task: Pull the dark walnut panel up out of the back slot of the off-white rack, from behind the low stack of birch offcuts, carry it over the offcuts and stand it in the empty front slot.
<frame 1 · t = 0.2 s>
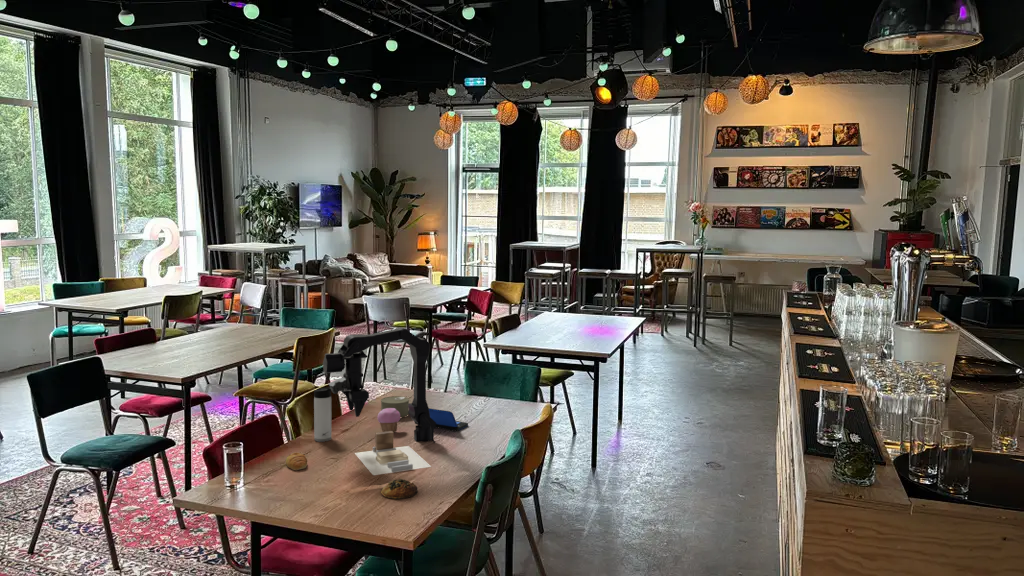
hand: (354, 413, 252), 14 cm above the table, tool pointing down, fingers open, 9 cm apart
rack: (391, 462, 243), on the table
travel mug: (323, 440, 267), on the table
bread roll: (399, 494, 216), on the table
offcut stack: (391, 459, 243), point 1 cm above the table, touching rack
pastry: (297, 466, 238), on the table
can: (394, 415, 302), on the table
handheld game console: (444, 428, 286), on the table
cupcake: (388, 433, 276), on the table
walnut panel: (384, 451, 251), point 1 cm above the table, touching rack
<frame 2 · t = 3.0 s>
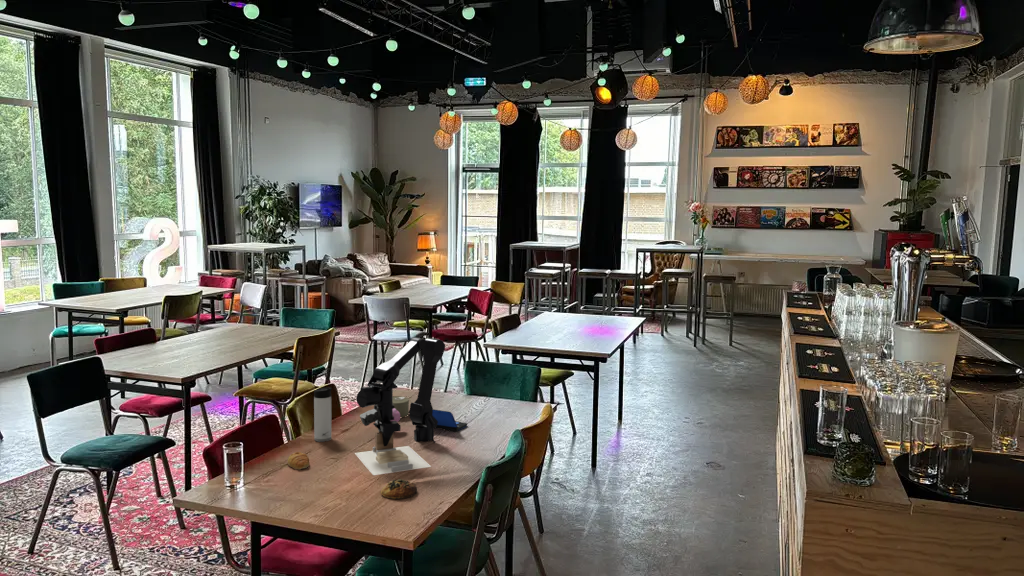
hand: (384, 444, 250), 4 cm above the table, tool pointing down, fingers closed on walnut panel, 2 cm apart
walnut panel: (384, 451, 251), point 1 cm above the table, touching gripper, rack
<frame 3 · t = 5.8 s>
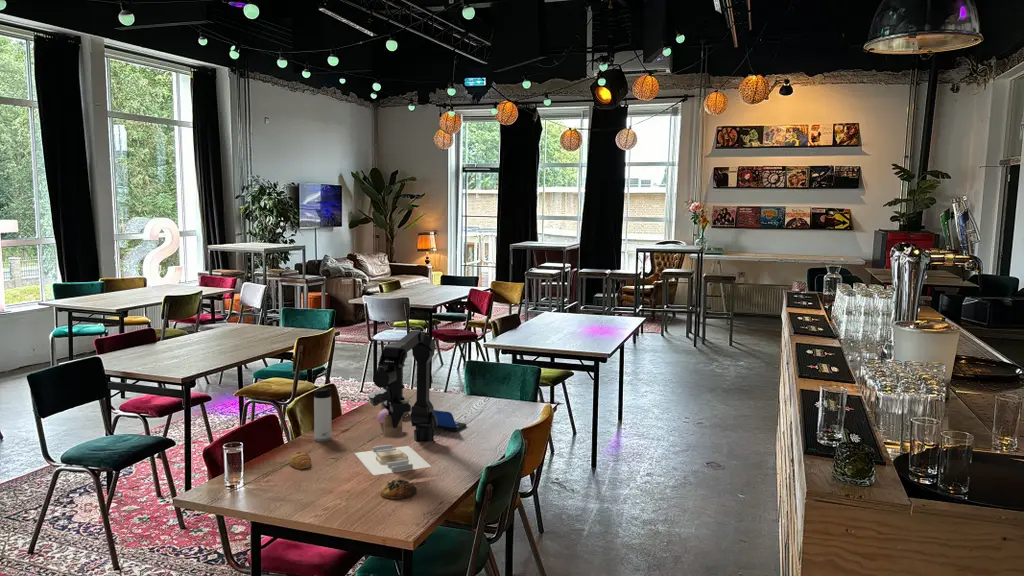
hand: (393, 427, 239), 13 cm above the table, tool pointing down, fingers closed on walnut panel
walnut panel: (392, 435, 239), point 11 cm above the table, touching gripper
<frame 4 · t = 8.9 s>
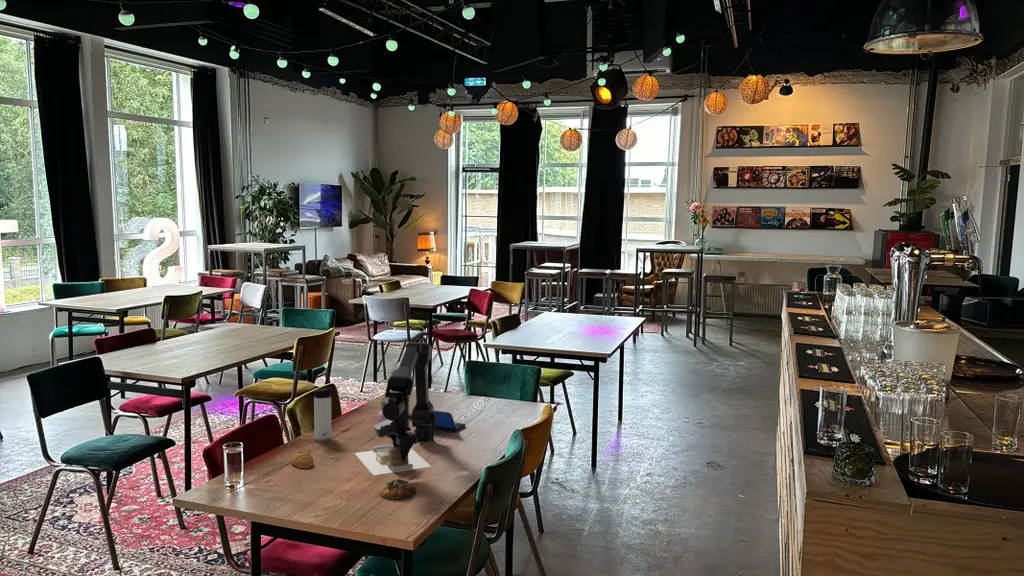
hand: (400, 457, 234), 4 cm above the table, tool pointing down, fingers open, 6 cm apart
walnut panel: (398, 468, 235), point 1 cm above the table, touching rack
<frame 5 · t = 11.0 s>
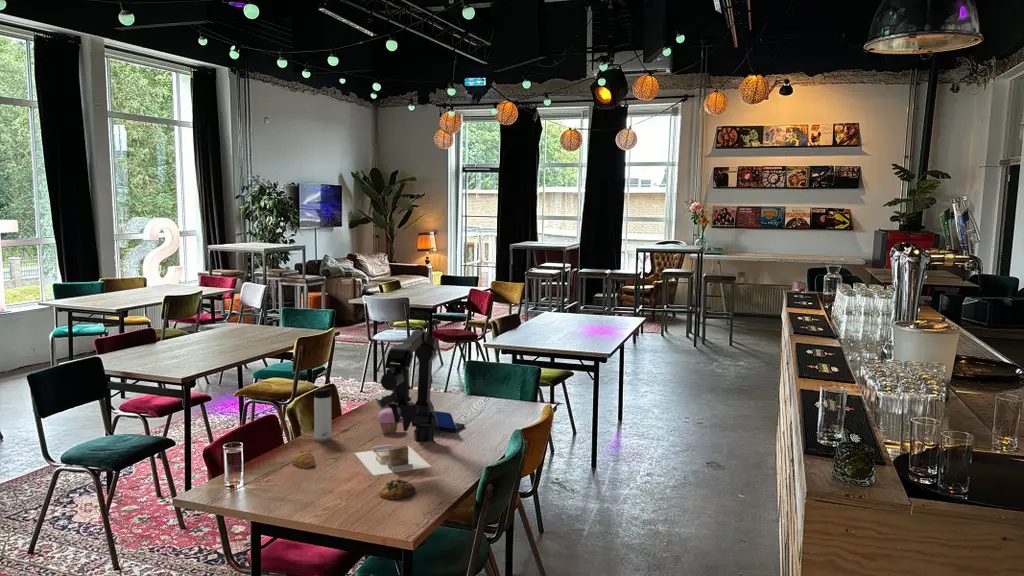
hand: (401, 427, 242), 12 cm above the table, tool pointing down, fingers open, 9 cm apart
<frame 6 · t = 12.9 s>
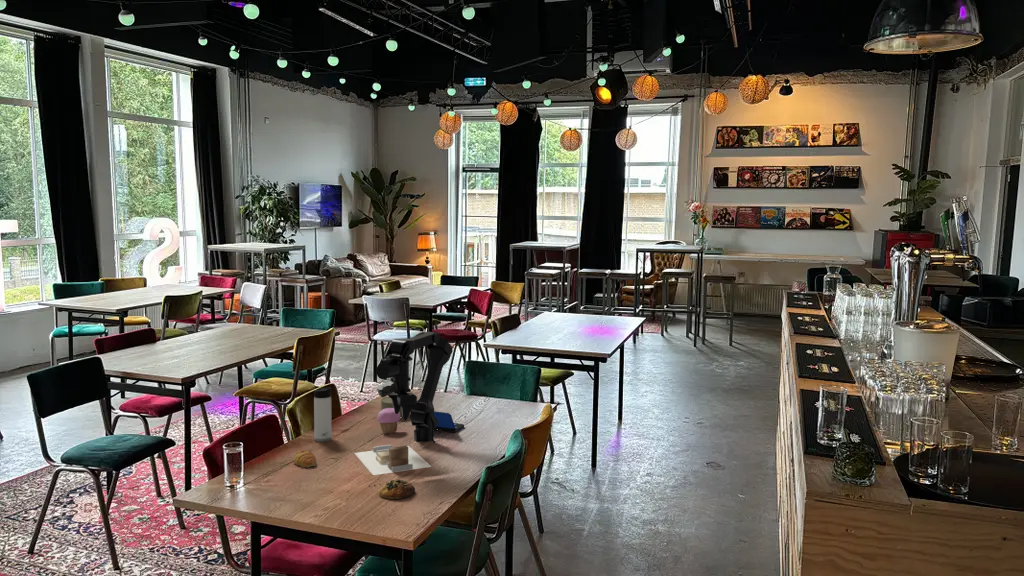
hand: (400, 417, 252), 13 cm above the table, tool pointing down, fingers open, 9 cm apart
at the end: walnut panel 0.5 cm from the target spot on the rack, point 1.0 cm above the rack's base; walnut panel tilted 0°; offcut stack moved 0.0 cm from its start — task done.
